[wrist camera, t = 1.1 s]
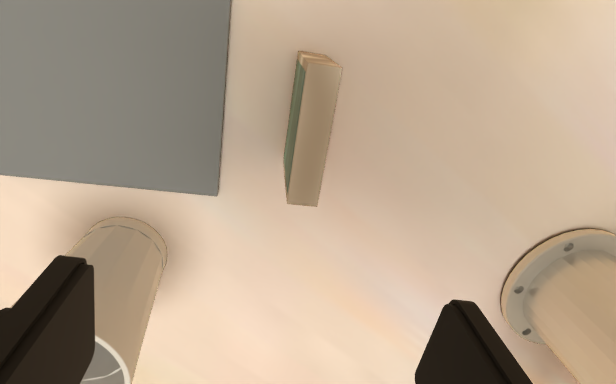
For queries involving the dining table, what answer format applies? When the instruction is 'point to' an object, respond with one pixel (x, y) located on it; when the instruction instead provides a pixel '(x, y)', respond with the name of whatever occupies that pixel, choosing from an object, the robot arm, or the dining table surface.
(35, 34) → the mat
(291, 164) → the tile
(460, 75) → the dining table surface
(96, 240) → the cup
